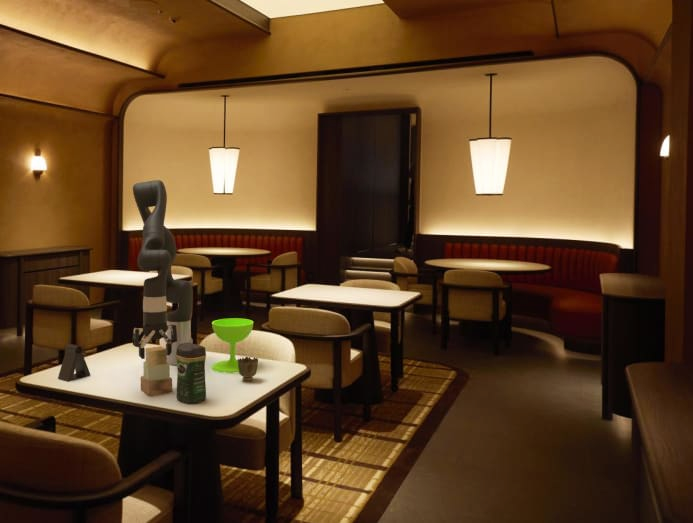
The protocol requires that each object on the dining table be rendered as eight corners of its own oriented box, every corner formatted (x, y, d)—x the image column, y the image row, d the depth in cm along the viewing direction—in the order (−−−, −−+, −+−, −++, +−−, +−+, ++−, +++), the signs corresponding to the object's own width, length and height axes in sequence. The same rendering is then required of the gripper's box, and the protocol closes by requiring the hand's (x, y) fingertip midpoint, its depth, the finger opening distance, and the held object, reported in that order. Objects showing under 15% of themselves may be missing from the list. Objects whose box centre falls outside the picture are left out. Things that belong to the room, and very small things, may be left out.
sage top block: (164, 373, 205) (164, 359, 205) (169, 378, 199) (169, 364, 199) (143, 376, 202) (143, 361, 201) (148, 381, 196) (148, 366, 195)
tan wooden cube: (161, 360, 203) (161, 346, 203) (166, 363, 199) (166, 349, 198) (145, 362, 200) (145, 348, 200) (150, 366, 196) (150, 351, 195)
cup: (261, 379, 217) (262, 357, 216) (252, 384, 210) (252, 362, 210) (243, 376, 220) (243, 355, 219) (233, 382, 213) (233, 360, 212)
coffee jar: (210, 400, 193) (210, 344, 191) (189, 406, 187) (189, 348, 185) (193, 393, 199) (192, 339, 197) (172, 399, 193) (172, 343, 191)
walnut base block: (163, 386, 206) (163, 372, 206) (172, 392, 200) (172, 378, 199) (140, 390, 201) (140, 376, 201) (148, 397, 195) (148, 382, 195)
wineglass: (206, 364, 235) (206, 320, 233) (244, 360, 243) (244, 317, 241) (219, 375, 221) (219, 327, 219) (259, 369, 229) (259, 324, 227)
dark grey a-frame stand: (67, 381, 209) (67, 348, 208) (57, 378, 212) (57, 346, 211) (90, 375, 217) (90, 343, 216) (80, 373, 220) (79, 341, 219)
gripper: (171, 305, 205) (172, 351, 206) (129, 309, 196) (130, 357, 198) (179, 309, 199) (180, 356, 200) (136, 312, 190) (137, 362, 192)
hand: (155, 356), depth 199 cm, fingers open, 8 cm apart
